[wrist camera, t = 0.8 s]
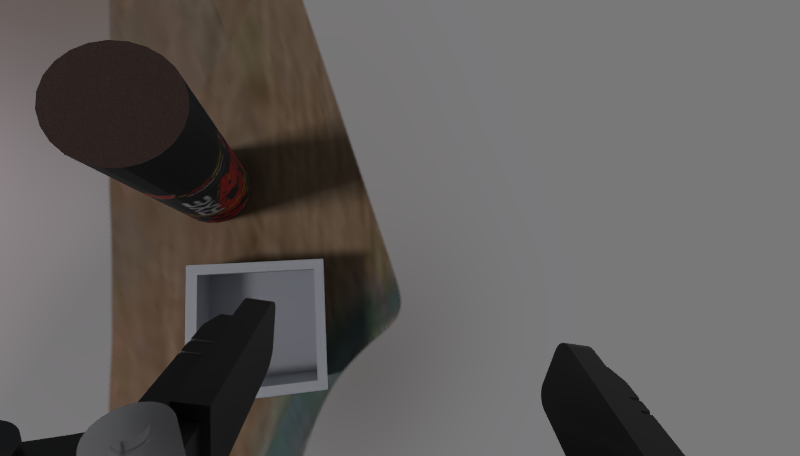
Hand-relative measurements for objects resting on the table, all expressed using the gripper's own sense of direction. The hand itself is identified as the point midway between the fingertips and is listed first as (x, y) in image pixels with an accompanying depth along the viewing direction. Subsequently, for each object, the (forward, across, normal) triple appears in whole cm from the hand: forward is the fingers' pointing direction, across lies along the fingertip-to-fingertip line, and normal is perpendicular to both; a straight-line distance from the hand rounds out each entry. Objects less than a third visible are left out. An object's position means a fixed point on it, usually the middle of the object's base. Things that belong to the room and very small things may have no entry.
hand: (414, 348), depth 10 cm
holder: (+17, +9, +12) cm, 23 cm away
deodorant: (+22, +15, +3) cm, 27 cm away
